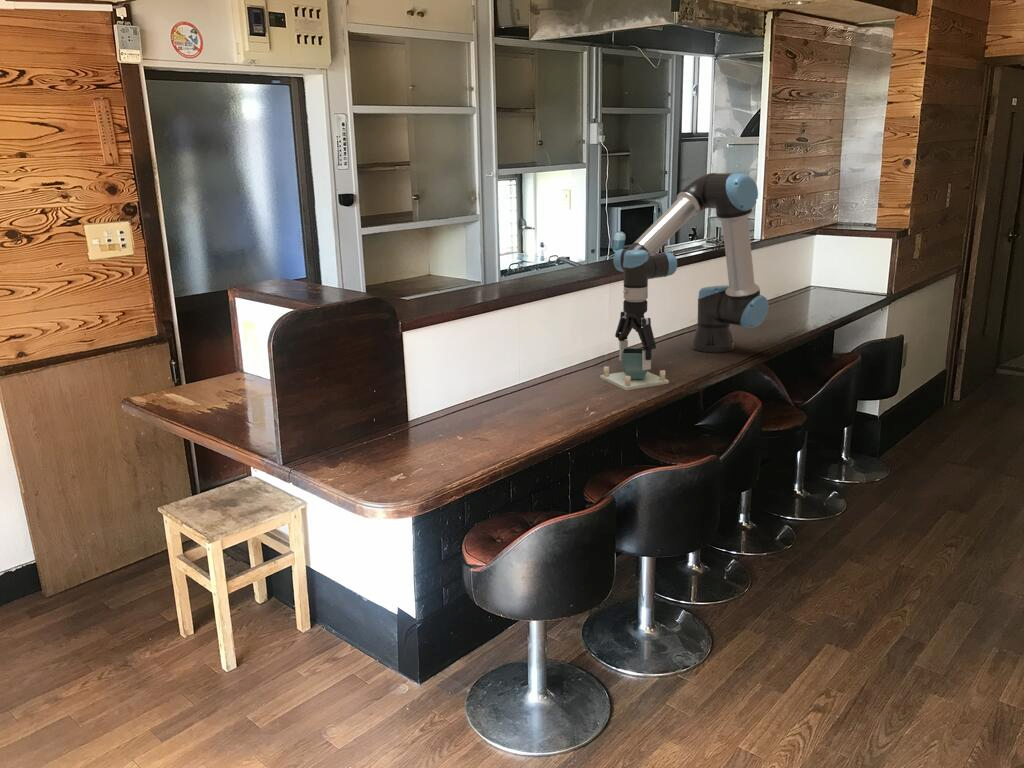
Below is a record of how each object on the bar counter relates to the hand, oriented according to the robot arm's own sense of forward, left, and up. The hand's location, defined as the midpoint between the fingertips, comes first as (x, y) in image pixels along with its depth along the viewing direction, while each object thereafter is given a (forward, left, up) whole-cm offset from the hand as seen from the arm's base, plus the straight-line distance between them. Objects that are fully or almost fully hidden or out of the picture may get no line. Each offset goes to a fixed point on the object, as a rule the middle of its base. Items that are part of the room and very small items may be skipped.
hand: (634, 364), depth 270 cm
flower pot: (0, +1, -4) cm, 4 cm away
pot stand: (0, 0, -5) cm, 5 cm away
